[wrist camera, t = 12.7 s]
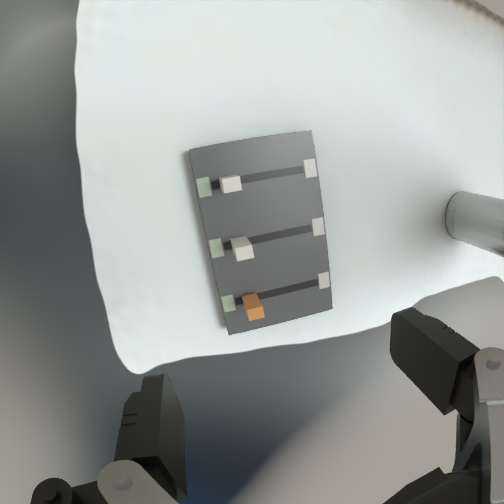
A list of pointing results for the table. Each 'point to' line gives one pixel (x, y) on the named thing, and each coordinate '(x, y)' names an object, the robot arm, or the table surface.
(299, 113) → the table surface
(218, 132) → the table surface
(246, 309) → the block
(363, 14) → the table surface
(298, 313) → the panel
